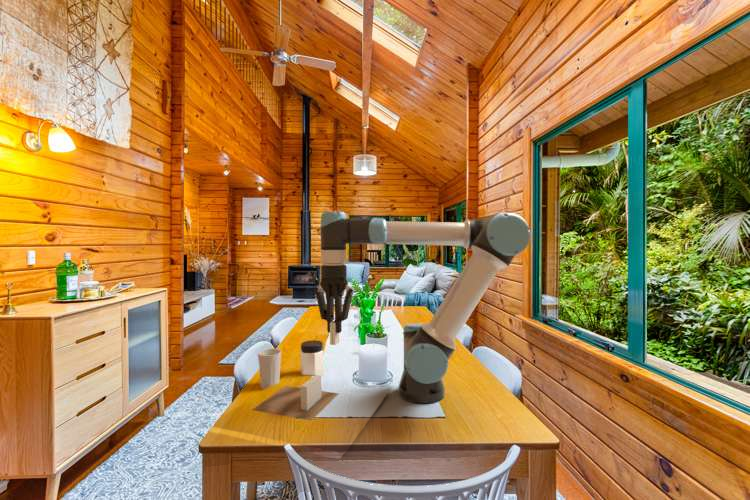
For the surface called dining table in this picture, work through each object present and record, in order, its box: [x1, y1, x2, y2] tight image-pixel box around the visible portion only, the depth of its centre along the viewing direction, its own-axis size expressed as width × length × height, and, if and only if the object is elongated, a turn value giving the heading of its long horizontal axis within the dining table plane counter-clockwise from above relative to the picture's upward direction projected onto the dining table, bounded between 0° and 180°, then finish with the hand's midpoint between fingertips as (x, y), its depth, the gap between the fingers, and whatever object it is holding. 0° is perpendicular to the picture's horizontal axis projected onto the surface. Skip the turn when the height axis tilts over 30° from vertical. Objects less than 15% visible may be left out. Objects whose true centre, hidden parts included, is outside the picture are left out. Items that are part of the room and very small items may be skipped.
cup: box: [257, 348, 282, 390], centre depth 124 cm, size 8×8×12 cm
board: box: [251, 385, 339, 421], centre depth 110 cm, size 20×18×1 cm
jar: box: [300, 339, 325, 377], centre depth 135 cm, size 9×8×12 cm
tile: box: [300, 375, 322, 411], centre depth 108 cm, size 2×9×7 cm, turn 161°
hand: (334, 343), depth 105 cm, fingers closed
